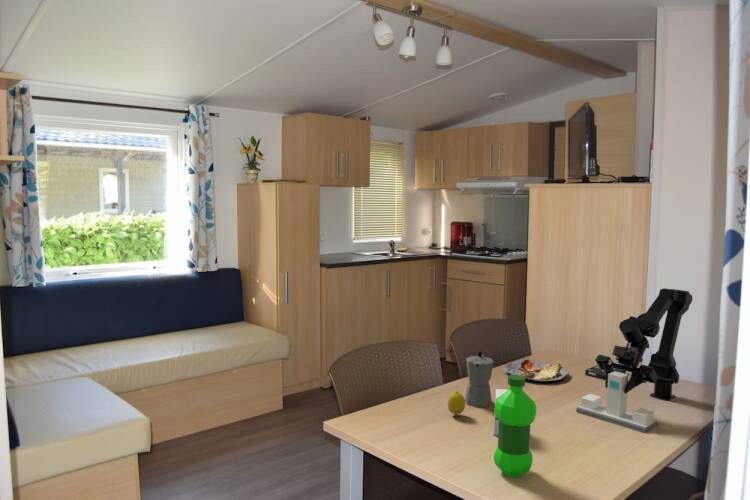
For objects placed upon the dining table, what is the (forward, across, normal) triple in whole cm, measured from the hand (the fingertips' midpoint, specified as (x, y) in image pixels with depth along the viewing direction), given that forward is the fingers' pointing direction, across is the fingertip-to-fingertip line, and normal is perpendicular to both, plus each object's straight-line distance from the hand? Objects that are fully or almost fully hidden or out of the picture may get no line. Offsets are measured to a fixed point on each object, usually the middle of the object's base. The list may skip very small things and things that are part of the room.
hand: (615, 390), depth 185 cm
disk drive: (-23, -26, +37) cm, 51 cm away
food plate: (-7, -43, +21) cm, 49 cm away
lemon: (+34, -33, -20) cm, 52 cm away
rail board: (+6, 0, +8) cm, 10 cm away
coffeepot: (+23, -37, -9) cm, 44 cm away
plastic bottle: (+46, +2, -32) cm, 56 cm away
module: (+5, 0, +7) cm, 8 cm away
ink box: (+33, -16, -19) cm, 41 cm away
